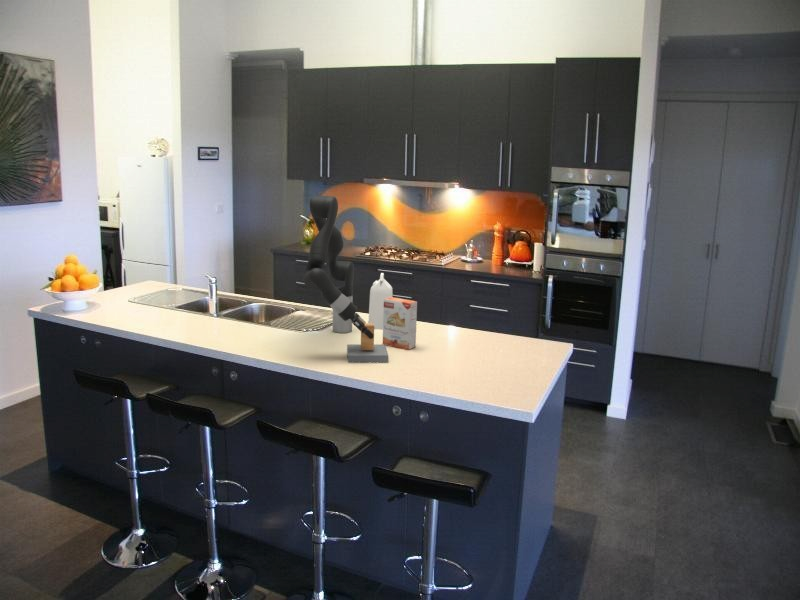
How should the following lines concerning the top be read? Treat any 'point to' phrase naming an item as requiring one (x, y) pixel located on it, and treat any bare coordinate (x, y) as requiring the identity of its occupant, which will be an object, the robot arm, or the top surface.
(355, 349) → the grey plinth
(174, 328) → the top surface
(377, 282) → the milk
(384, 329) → the cracker box
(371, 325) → the orange block
